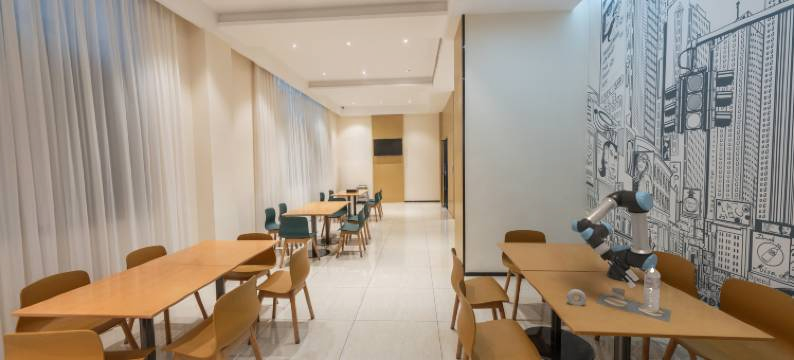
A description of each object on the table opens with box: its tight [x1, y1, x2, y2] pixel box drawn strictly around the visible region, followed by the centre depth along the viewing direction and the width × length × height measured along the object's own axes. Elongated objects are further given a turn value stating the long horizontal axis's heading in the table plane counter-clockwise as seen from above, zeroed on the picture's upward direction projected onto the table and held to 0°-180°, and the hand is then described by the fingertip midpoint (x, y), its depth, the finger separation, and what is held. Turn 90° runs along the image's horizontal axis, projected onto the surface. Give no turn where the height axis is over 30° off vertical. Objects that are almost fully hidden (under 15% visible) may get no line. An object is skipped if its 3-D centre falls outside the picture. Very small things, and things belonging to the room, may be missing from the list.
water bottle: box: [642, 265, 661, 313], centre depth 170 cm, size 7×7×25 cm
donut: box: [566, 288, 587, 307], centre depth 180 cm, size 10×4×10 cm, turn 75°
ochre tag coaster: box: [638, 298, 664, 317], centre depth 172 cm, size 14×11×6 cm
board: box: [596, 293, 672, 323], centre depth 177 cm, size 18×32×1 cm, turn 46°
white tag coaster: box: [604, 286, 627, 307], centre depth 183 cm, size 14×11×6 cm
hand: (635, 283), depth 175 cm, fingers open, 13 cm apart
